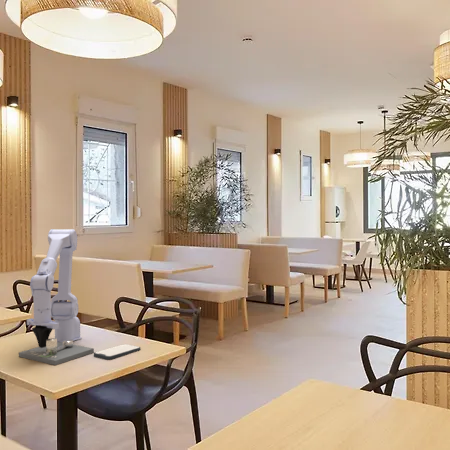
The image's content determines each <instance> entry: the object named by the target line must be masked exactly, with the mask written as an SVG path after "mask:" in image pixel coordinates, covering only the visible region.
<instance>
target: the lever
mask: <svg viewBox="0 0 450 450" xmlns="http://www.w3.org/2000/svg"><path fill="white" fill-rule="evenodd" d="M73 345H74V341H73V340H64V341H63V345H62V346H60V347H58V348H57V339H56V338H55V337H53V338H52V337H49V338H48V339H47V340H46V352H45V353H43V356H47V355H49V354H55V353H57V351H59V350H61V349H63V348H66V347H72V346H73Z"/></svg>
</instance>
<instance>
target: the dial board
mask: <svg viewBox="0 0 450 450" xmlns="http://www.w3.org/2000/svg"><path fill="white" fill-rule="evenodd" d="M62 345H63V342H57V348H58V347H60V346H62ZM94 351H95V348H93V347H88V346H85V345H84V346H83V345H78V344H73V346H72V347H66V348H63V349H61V350H59V351H57V353H55V354H49V355H47V356H43V353H45V352H46V347H44V348H39V346H37V347H33V348H30V349H26V350H22V351H19V352H18V357H20V358H24V359H28V360H32V361H36V362H39V363H45V364H48V365H54V366H57V365H60V364H64V363H66V362H69V361H72V360H76V359H78V358H81V357H85V356H87V355H91V354H94V353H95V352H94Z"/></svg>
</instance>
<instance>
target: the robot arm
mask: <svg viewBox="0 0 450 450" xmlns="http://www.w3.org/2000/svg"><path fill="white" fill-rule="evenodd" d="M47 242H48V245H49V246H48V250H47V254H46V257H45V258H43V259H42V260H41V261H40V264H39V266H38V269H37V270H36V271H37V272H36V274H35V275H33V276H31V278H30V284H29V287H30V290H31V296H32V297H33V298H32V299H33V318H27V319H26V326H34V327H32V328H31V331H32V332H33V334H34V335H35V338H36V342H37V345H38V347H39V348H44V347H46V340H47V339H50V335H51V333H52V331H53V330H54V338H56V339H57V342H63V341H64V340H73V342H74V341H77V340H81V339H83V337H82V336H81V321H80V319H79V317H77V315H78V313H79V300H78V297H77V296H76V295H75V294H73V293H72V274H73V271H72V270H73V269H72V268H73V256H74V255H73V254H74V252H75V251H77V247H78V233H77V231H76V230H75V229H74V228H70V229H68V228H67V229H64V228H63V229H59V228H58V229H54V228H53V229H52V228H51V229H50V230H49V231H48V233H47ZM58 257H59V259H58ZM57 259H58V260H59V264H58V263H57ZM57 268H58V282H57V284H58V285H57V286H58V287H57V293H56V294H55V295H54V296H53V297H52V290H53V289H54V284H55V283H54V282H55V277H54V276H55V273H56V270H57ZM52 319H53V320H52Z"/></svg>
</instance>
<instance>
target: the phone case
mask: <svg viewBox="0 0 450 450" xmlns="http://www.w3.org/2000/svg"><path fill="white" fill-rule="evenodd" d="M139 351H141V346H136V345H133V344H128V343H125V344H120V345H115V346H113V347H109V348H105V349H103V350H99V351H96V352H94V353H93V357H94V358H97V359H102V360H107V361H111V360H114V359H118V358H121V357H124V356H127V355H129V354H132V353H135V352H139Z"/></svg>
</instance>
